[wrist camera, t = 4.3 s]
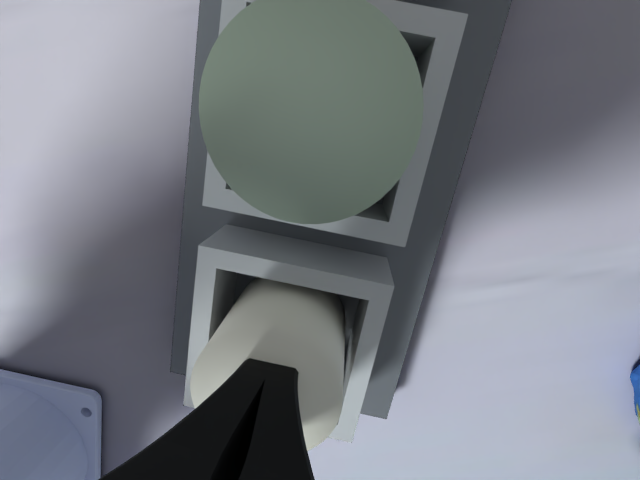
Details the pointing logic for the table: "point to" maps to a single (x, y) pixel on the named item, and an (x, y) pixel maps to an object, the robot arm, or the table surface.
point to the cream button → (282, 348)
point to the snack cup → (636, 389)
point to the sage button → (311, 107)
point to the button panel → (348, 234)
